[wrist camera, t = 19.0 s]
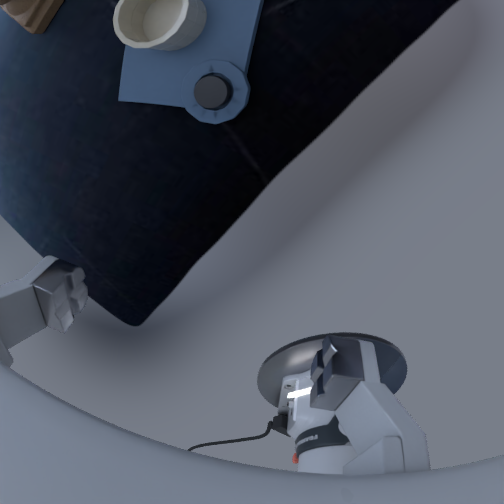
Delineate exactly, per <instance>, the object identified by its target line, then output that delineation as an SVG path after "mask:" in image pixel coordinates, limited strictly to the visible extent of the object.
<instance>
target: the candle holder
mask: <svg viewBox="0 0 504 504" xmlns="http://www.w3.org/2000/svg"><path fill="white" fill-rule="evenodd" d="M63 1H64V0H0V6H1V8H2V9H3V10H4V11H5V12H6V13H7V14H8V15H9V16H11V17H12V18H13V19H14V20H16V21H17V22H18V23H19V24H20V25H21V26H22V27H24V28H25V29H26V30H27V31H29V32H30V33H32V34H42V33H43V32H44V31H45V29H46V28H47V26H48V25H49V23H50V22H51V20H52V18H53V17H54V15H55V13H56V12H57V10H58V9H59V7H60V6H61V4H62V3H63Z"/></svg>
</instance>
